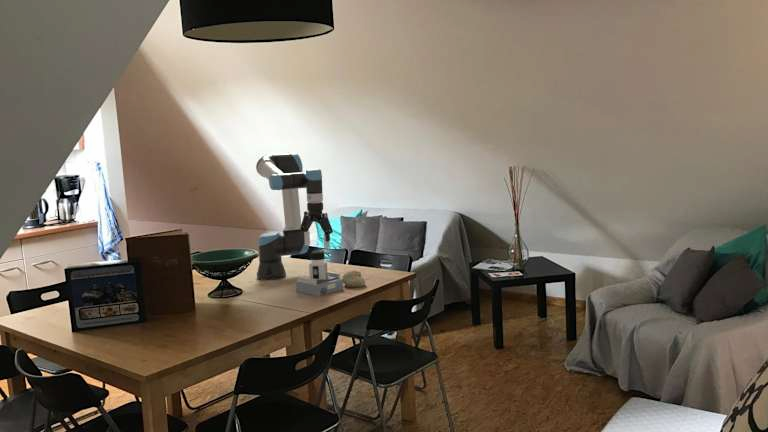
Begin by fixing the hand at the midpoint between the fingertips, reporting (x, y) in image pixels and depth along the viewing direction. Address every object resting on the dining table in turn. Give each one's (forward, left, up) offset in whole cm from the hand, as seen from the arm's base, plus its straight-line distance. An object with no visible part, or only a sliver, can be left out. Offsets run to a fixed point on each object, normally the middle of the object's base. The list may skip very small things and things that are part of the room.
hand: (317, 246), depth 319 cm
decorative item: (+8, +15, -22) cm, 28 cm away
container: (0, 0, -16) cm, 16 cm away
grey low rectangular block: (0, 0, -21) cm, 21 cm away
